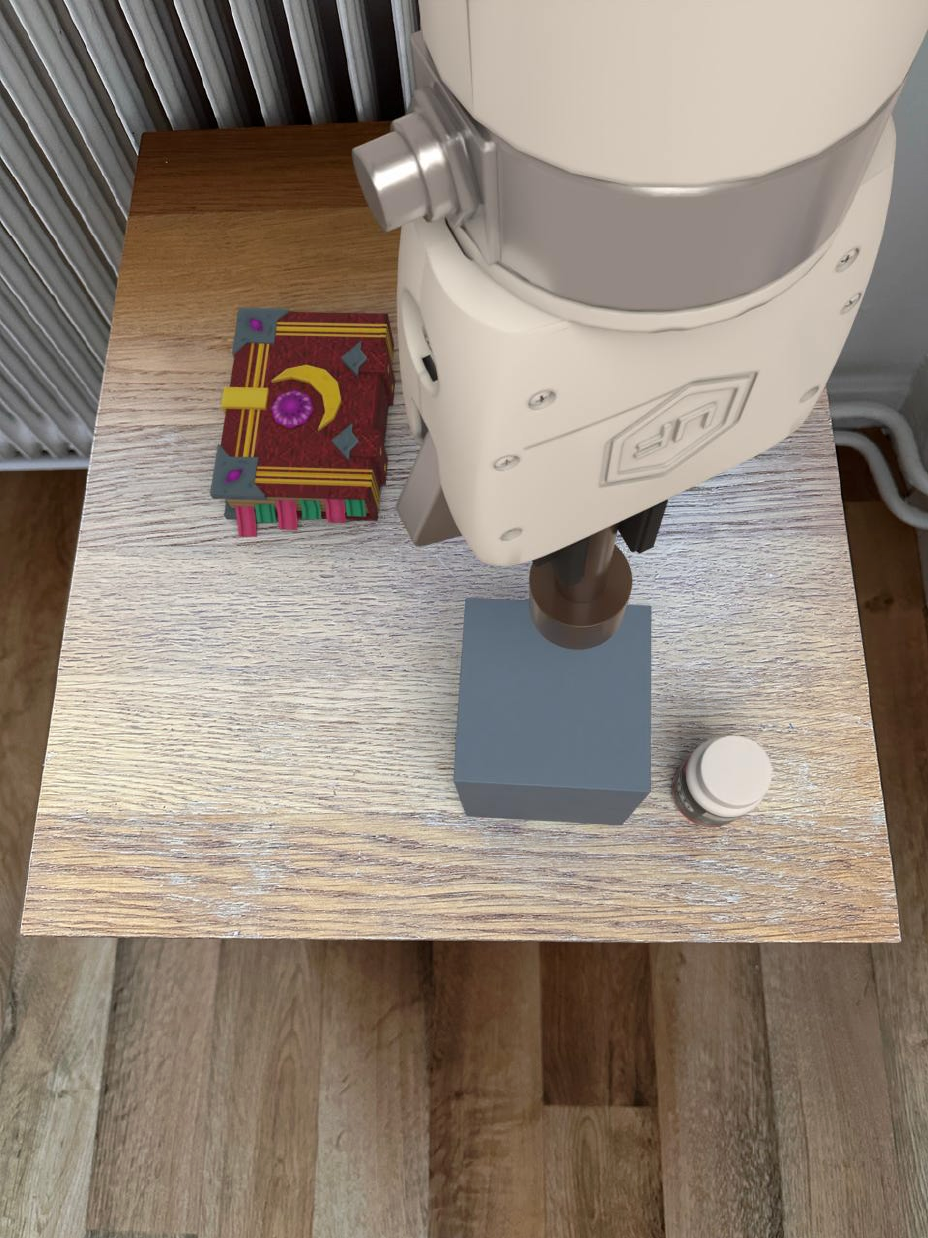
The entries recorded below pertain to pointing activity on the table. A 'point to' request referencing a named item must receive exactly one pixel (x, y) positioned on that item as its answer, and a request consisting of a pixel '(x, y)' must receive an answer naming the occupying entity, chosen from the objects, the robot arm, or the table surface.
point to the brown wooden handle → (583, 596)
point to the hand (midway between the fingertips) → (587, 531)
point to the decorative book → (305, 418)
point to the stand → (552, 719)
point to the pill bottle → (722, 781)
